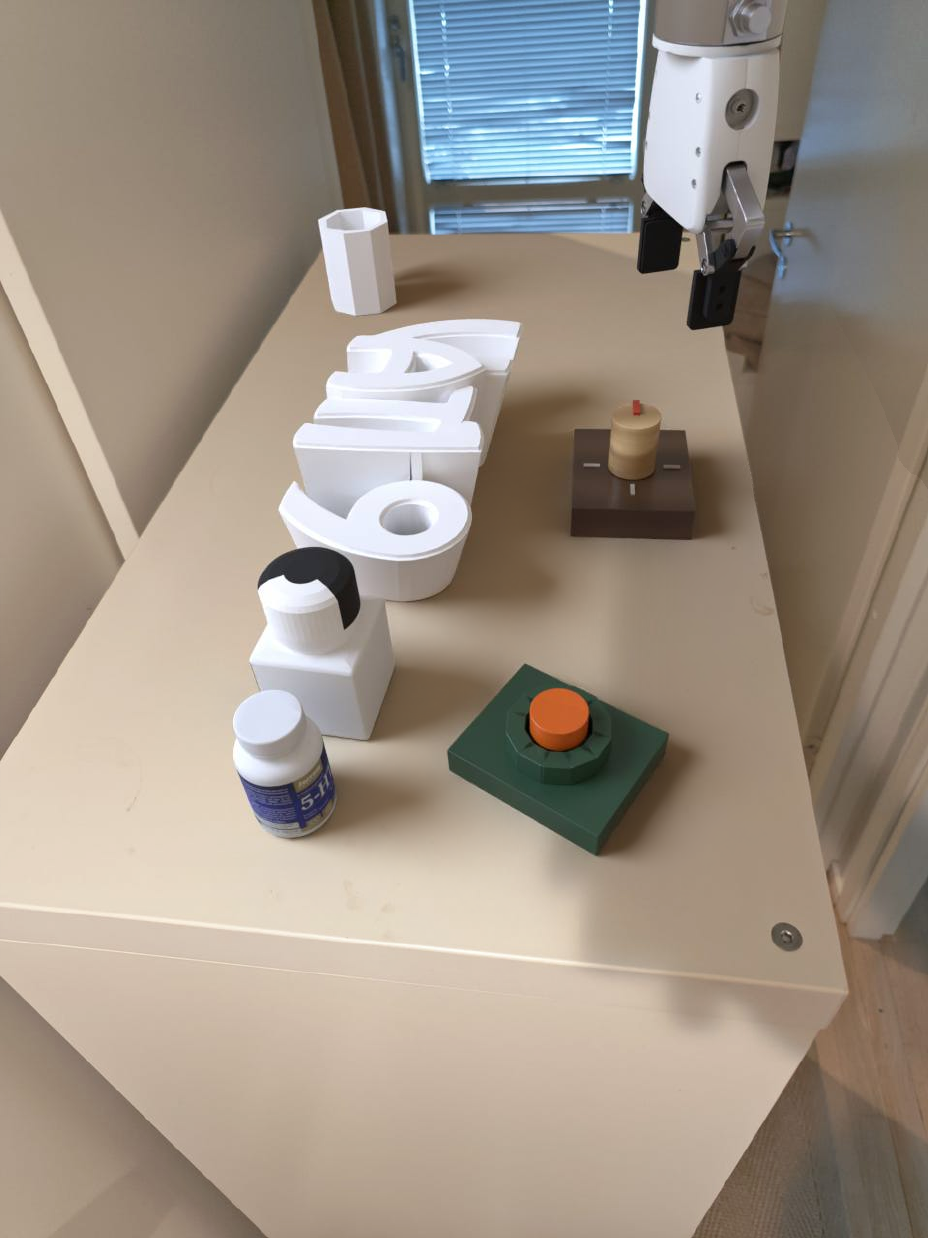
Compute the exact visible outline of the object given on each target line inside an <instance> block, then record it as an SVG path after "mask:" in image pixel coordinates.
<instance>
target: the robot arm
mask: <svg viewBox="0 0 928 1238" xmlns="http://www.w3.org/2000/svg"><path fill="white" fill-rule="evenodd" d="M788 4H789V0H655V7H654V8H655V9H654V21H653V32H652V40H651V41H652V42H651V45H652V47H653V48H654V49H657V50H658V51H657V58H656V63H655V69H654V73H653V74H654V75H653V81H652V87H651V95H650V102H649V109H648V115H647V116H648V117H647V123H646V133H645V137H644V138H643V139H642V155H643V156H642V158H643V172H642V174H641V176H642V177H640V181H641V184H642V186H643V192H644V195H643V196H642V198H641V201H640V207H639V208H640V213H641V216H642V217H641V219H640V229H639V240H638V250H637V252H638V253H637V261H636V270H637V271H638V272H639V273H640V274H641V275H646V274H652V273H653V274H654V273H660V272H666V271H667V272H669V271H674V270H677V268H678V267H679V265H680V259H681V258H680V257H681V250H682V241H683V233H684V229H685V230H686V231H688V232H689V233H691V234H693V235H695V239H696V247H697V255H698V260H699V261H698V262H699V268H700V269H694V270H693V274H692V280H691V288H690V295H689V300H688V309H687V316H686V326H687V327H688V328H689V330H691V331H698V330H699V331H700V330H706V329H711V328H717V327H724V326H729V325H731V324H733V321H734V317H735V313H736V312H735V311H736V306H737V301H738V296H739V290H740V284H741V279H742V273H743V271H745V270H746V269H747V267H748V264H749V260H750V259H751V258H752V257H753V255H754V253H755V250H756V248H757V247H756V244H757V242H758V240H759V238H760V236H761V234H762V232H763V230H764V228H765V224H766V217H765V214H764V208H765V204H766V199H767V192H768V185H769V181H770V180H769V178H770V173H771V165H772V158H773V152H774V143H775V135H776V125H777V117H778V107H779V106H778V105H779V91H780V50H779V49H777V48H778V47H780V45H781V42H782V36H783V31H784V26H785V18H786V14H787V9H788ZM723 215H727V217H726V218H719V219H712V220H708V217H715V216H723ZM725 234H727V237H728V238H727V239H724V240H723V241H722V242H721V244H720V245H719V246H718V247H717V248H714V241H713V236H717V235H725Z"/></svg>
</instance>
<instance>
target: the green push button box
mask: <svg viewBox="0 0 928 1238" xmlns="http://www.w3.org/2000/svg"><path fill="white" fill-rule="evenodd" d="M554 688H562V689H568V690H571V691H574V692H576V693H577V694H579V695H580V696H581V697H582V698H583V699H584V700H585V701H586V703H587V705H588V708H589V720H588V732H587V736H586V738H585V739H584V741H583V742H582V743H581V744H580V745H578V746H577V747H575V748H573V749H570V750H566V751H553V750H549V749H546V748H544V747H542V746H541V745H539V744H538V743H537V742H536V741H535V740H534V739H533V737H532V735H531V733H530V706H531V703H532V701H533V700H534V698H535V697H536V696H537V695H539V694H540V693H542V692H543V691H546V690H549V689H554ZM669 738H670V733H668V732H666V731H664V730H662V729H661V728H659V727H656V726H654V725H652V724H651V723H648V722H646V721H644V720H642V719H640V718H638V717H636V716H634V715H631V714H630V713H628V712H626V711H623V710H621V709H619V708H618V707H616V706H614V705H611V704H609V703H608V702H605V701H603V700H601V699H600V698H598V696H596V695H595V694H592V693H590V692H588V691H586V690H585V689H582V688H580V687H578V686H576V685H573V684H572V685H570V684H569V683H567V682H564V681H563V680H561V679H558V678H556V677H555V676H552V675H550V674H549V673H546V672H544V671H543V670H540V669H538V668H536V667H534V666H531V665H530V664H528V663H523V664H522V666H520V668H519V669H518V670H517V671H516V672H515V673H514V675H513V676H512V677H511V678H510V679H509V680H508V682H507V683H505V685H504V686H503V687H502V688H501V689H500V690H499V691H498V693H497V694H496V695H494V697H493V698H491V700H490V701H489V702H488V704H487V705H485V707H484V708H483V710H481V711H480V713H479V714H478V715H477V716H476V717H475V718H474V719H473V721H472V722H471V723H470V724H468V726H467V727H466V728H465V729H464V730H463V732H462V733H461V734H460V735H459V736H458V737H457V738H456V739H455V741H454V742H453V743H452V744H451V745H450V746H449V747H448V748H447V749H446V754H447V763H448V770H449V771H450V772H451V773H453V774H455V775H457V776H458V777H460V778H462V779H464V780H465V781H467V782H469V783H470V784H472V785H474V786H476V787H477V788H478V789H481V790H482V791H484V792H486V793H488V794H489V795H491V796H493V797H494V798H496V799H498V800H499V801H501V802H503V803H505V804H507V805H508V806H510V807H511V808H513V809H515V810H517V811H518V812H520V813H522V814H523V815H525V816H527V817H528V818H530V819H532V820H533V821H535V822H537V823H539V824H540V825H542V826H543V827H545V828H547V829H549V830H551V831H553V832H554V833H556V834H558V835H559V836H561V837H562V838H564V839H566V840H567V841H569V842H571V843H573V844H575V845H576V846H577V847H579V848H582V849H583V850H584V851H587V852H588V853H590V854H592V855H593V856H595V857H596V856H598V854H599V853H600V851H601V850H602V848H603V847H604V845H605V844H606V842H607V841H608V839H609V838H610V837H611V835H612V834H613V832H614V830H615V829H616V828H617V826H618V825H619V823H620V822H621V820H623V817H624V816H625V815H626V813H627V811H628V810H629V808H631V806H632V804H633V803H634V801H635V800H636V798H637V797H638V796H639V794H640V792H641V791H642V790H643V788H644V787H645V785H646V784H647V782H648V781H649V779H650V778H651V776H652V775H653V773H654V772H655V771H656V769H657V767H658V766H659V764H660V763H661V762H662V761H663V758H664V757H665V756H666V753H667V747H668V743H669Z"/></svg>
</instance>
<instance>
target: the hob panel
mask: <svg viewBox="0 0 928 1238" xmlns="http://www.w3.org/2000/svg"><path fill="white" fill-rule="evenodd" d="M610 435H611V428H574V431H573V450H572V451H573V452H572V480H571V505H570V508H571V510H570V534H569V535H570V537H593V538H594V537H595V538H597V537H598V538H628V539H630V538H631V539H662V540H692V537H693V532H694V526H695V520H696V515H697V508H696V499H695V494H694V493H695V491H694V484H693V477H692V469H691V463H690V454H689V446H688V440H687V431H686V429H660V433H659V441H658V449H657V457H656V465H655V470H654V472H653V473H652V474H651V475H650V476H648V477H646V478H643V479H637V480H628V479H623V478H620V477H617V476H615V475H614V474H613V473H611V471H610V470H609V468H608V460H609V447H610Z"/></svg>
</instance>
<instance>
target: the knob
mask: <svg viewBox="0 0 928 1238" xmlns="http://www.w3.org/2000/svg"><path fill="white" fill-rule="evenodd" d="M661 424H662V414H661V412H660V410H659V409H657V408H656V407H654V406H652V405H650V404H647V403H643V402H642V403H641V402H640V400H639V399H632V402H630V403H625V404H621V405H619V406H617V407H616V408H615V409H614V410H613V411H612V413H611V423H610V429H611V435H610V447H609V460H608V468H609V470H610V471H611V473H613V474H614V475H615V476H617V477H620V478H623V479H628V480H637V479H643V478H646V477H648V476H650V475H651V474H652V473H653V472H654V470H655V465H656V457H657V449H658V441H659V433H660V430H661Z"/></svg>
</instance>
